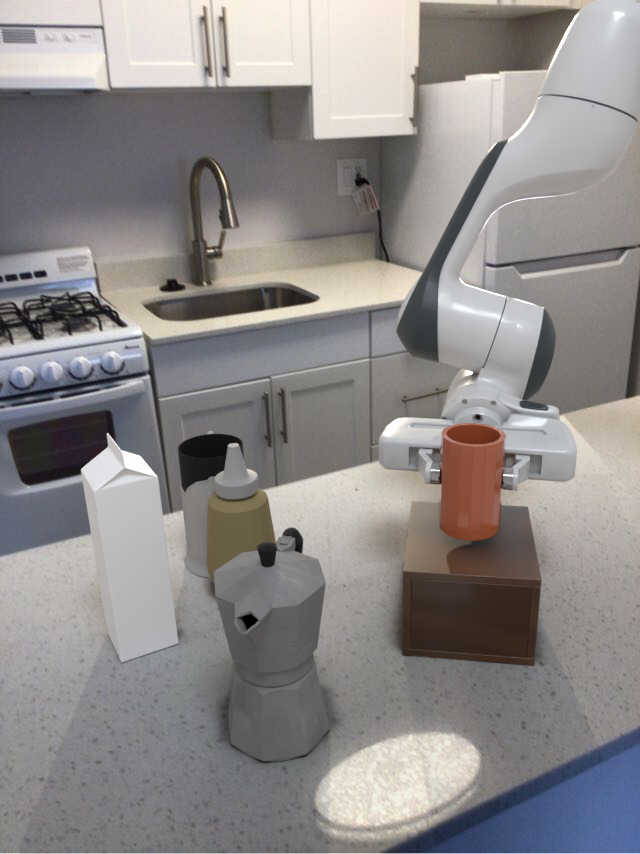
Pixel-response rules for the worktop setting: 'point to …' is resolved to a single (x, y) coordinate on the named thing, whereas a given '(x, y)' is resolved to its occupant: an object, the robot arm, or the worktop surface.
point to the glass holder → (200, 490)
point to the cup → (471, 480)
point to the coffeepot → (273, 648)
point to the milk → (130, 552)
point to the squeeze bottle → (236, 513)
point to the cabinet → (471, 590)
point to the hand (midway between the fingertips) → (471, 480)
